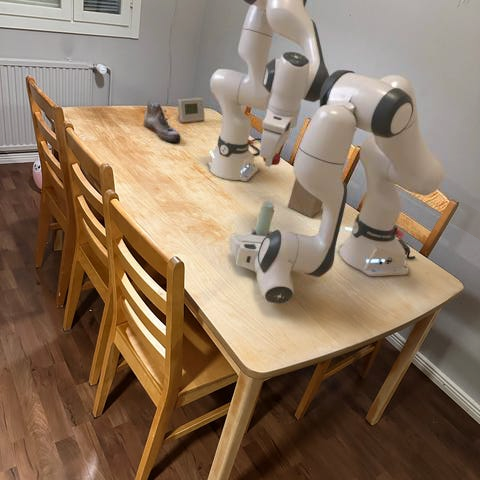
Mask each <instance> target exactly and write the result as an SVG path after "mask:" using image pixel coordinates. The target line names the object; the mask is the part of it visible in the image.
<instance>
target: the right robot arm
mask: <svg viewBox="0 0 480 480" xmlns="http://www.w3.org/2000/svg"><path fill="white" fill-rule="evenodd" d="M418 115H419V113H418V105H417V100H416V96H415V93H414V89H413V87H412V84H411V82H410V81H409V80H408V78H406V77H405V76H402V75H399V74H389V75H385V76H383V77H381V78H379V79H378V78H377V77H371V76H368V75H364V74H362V73H361V74H360V73H356V72H355V71H353V70H350V69H349V70H347V69H337V70H335V71H333V72H332V73H331V74H329V77H328V78H327V79H326V80H325V82H324V84H323V86H322V89H321V92H320V99H319V108H317V110H316V111H315V112H314V113H313V116H312V117H311V119H310V121H309V123H308V125H307V126H306V128H305V131H304V133H303V135H302V137H301V140H300V142H299V145H298V148H297V151H296V153H295V157H294V161H293V167H292V169H293V174H294V176H295V177H294V178H295V179H297V180H298V182H299V183H300V184H301V185H302V187H303V188H305V189H306V190H307V191H308V192H309V193H311V194H312V195H314V196H315V197H317V198H318V199H319V200H321V201H322V202H323V211H322V215H321V218H320V219H321V220H320V224H319V227H318V233H317V234H315V235H312V236H311V235H307V234H301V233H296V232H292V231H287V230H281V229H275V230H269V232H268V235H267V236H258V235H255V233H256V231H255V229H256V228H255V229H253V228H250V229H249V233H238V232H233V233H232V234H230V236H229V242H228V243H229V250H230V252H231V254H232V257H234V259H235V264H236V266H238V267H240V268H244V269H247V270H250V271H252V272H254V273H255V275H256V281H257V285H258V288H259V291H260V293H261V295H262V297H263V299H264V300H265V301H266V302H268V303H271V304H284V303H287V302H288V301H290V300H292V298H293V296H294V284H293V279H292V275H291V272H296V273H300V274H301V273H302V274H305V275H308V276H312V277H315V278H321V277H322V276H324V275H325V274H327V273H328V272H329V271H330V270H331V269H332V268H333V266H334V263H335V256H336V247H337V243H338V237H339V234H340V229H341V226H342V222H343V218H344V213H345V209H346V205H347V199H348V186H347V184H346V182H345V181H344V180H343V171H344V166H345V164H346V161H347V159H348V157H349V155H350V152H351V148H352V145H353V140H354V136H355V133H356V132H357V130H358V129H359V130H362V131H365V132H368V133H371V134H372V135H370V136H368V137H367V138H366V139H365V140H364V141H363V143H362V144H361V146H360V149H359V160H360V163H361V165H362V166H363V169H364V173H365V179H366V190H365V191H366V192H365V197H364V200H363V202H362V205H361V208H360V211H359V213H358V214H357V216H356V217H355V220H354V222H353V225H352V227H347V226H345V228H344V230H346V231H351V232H350V234H349V235H348V237H347V239H346V241H345V242H344V243H343V245H342V246H341V247H340V249H339V250H338V251H339V252H338V253H339V256H340V257H341V259H342V260H343V261H344V262H345V263H346V264H348V265H349V266H350V267H353V268H355V269H357V270H359V271H361V272H363V273H364V274H365V275H367V276H369V277H382V276H385V277H386V276H399V275H408V273H409V266H408V263H407V262H406V259H408V260H412V259H416V256H415V255H413V256H410V254H411V248H410V246H408V244H407V243H406V242H405V241H404V240H403V239H401V238H403V237H404V232H403V231H402V230H401V229H398V228H399V227H398V226H397V225H396V224H397V222H398V220H399V217H400V215H401V212H402V210H403V206H404V205H403V199H402V197H401V196H400V194H399V193H398V191H397V186H398V187H400V188H401V189H404V190H406V191H407V192H409V193H412V194H416V195H421V196H423V197H425V196H428V195H431V194H433V193H435V192H436V191H437V190H438V189H440V187H441V186H442V185H443V182H444V181H445V176H446V169H445V166H444V165H443V164H442V163H441V162H440V161H439V160H438V158H437V157H436V156H435V155H434V153H432V151H431V150H430V149H429V147H428V145H427V143H426V141H425V140H424V137H423V135H422V134H421V131H420V130H421V129H420V125H419V116H418Z"/></svg>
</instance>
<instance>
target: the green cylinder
mask: <svg viewBox="0 0 480 480" xmlns="http://www.w3.org/2000/svg"><path fill="white" fill-rule="evenodd" d="M274 213H275V203H274V202H271V201H269V200H265V201H264V202H262V204H261V207H260V209H259V213H258V218H257V221H256V225H255V231H256V233H255V235H258V236H267V235H268V232H269V231H270V227H271V224H272V221H273V217H274Z"/></svg>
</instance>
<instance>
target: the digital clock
mask: <svg viewBox="0 0 480 480" xmlns="http://www.w3.org/2000/svg"><path fill="white" fill-rule="evenodd" d="M177 109H178V110H177V112H178V120H179V123H187V124H188V123H196V122H197V123H198V122H200V121H204V120H205V118H206V117H205V106H204V98H203V97H187V98H182V99H178V100H177Z"/></svg>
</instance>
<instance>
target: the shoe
mask: <svg viewBox="0 0 480 480" xmlns="http://www.w3.org/2000/svg"><path fill="white" fill-rule="evenodd" d="M164 112H165V113H166V112H167V110H166V109H163V108H162V107H161V104H160V103H155V101H153V103H150V101H147V106H146V109H145V112H144V116H143V124H144V125H143V126H144V127H146V128H149V130H152V131H154V132H155V133H156V134H157V136H158V138H159V139H160V140H162V141H166V142H168V143H172V144H173V143H174V144H178V143H180V142H181V134H180V133H179V132H178V131H177V130H176V129H175V128H173V127H172V126H170V125H169V122H168V118H167V117H166V116H165V113H164Z"/></svg>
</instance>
